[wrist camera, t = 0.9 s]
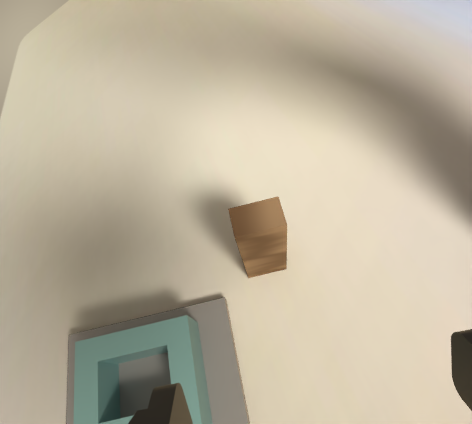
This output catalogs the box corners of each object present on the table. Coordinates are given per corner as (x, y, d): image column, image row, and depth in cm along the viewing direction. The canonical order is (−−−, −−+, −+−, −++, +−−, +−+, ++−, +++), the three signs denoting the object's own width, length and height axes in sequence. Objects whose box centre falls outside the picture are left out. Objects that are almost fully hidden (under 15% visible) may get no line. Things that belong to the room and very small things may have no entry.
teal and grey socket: (226, 299, 34) (217, 287, 30) (252, 439, 28) (246, 449, 24) (74, 336, 34) (43, 329, 30) (71, 481, 29) (32, 499, 24)
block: (280, 246, 36) (278, 196, 26) (286, 268, 35) (287, 224, 25) (243, 255, 36) (228, 208, 26) (248, 277, 35) (234, 237, 25)
